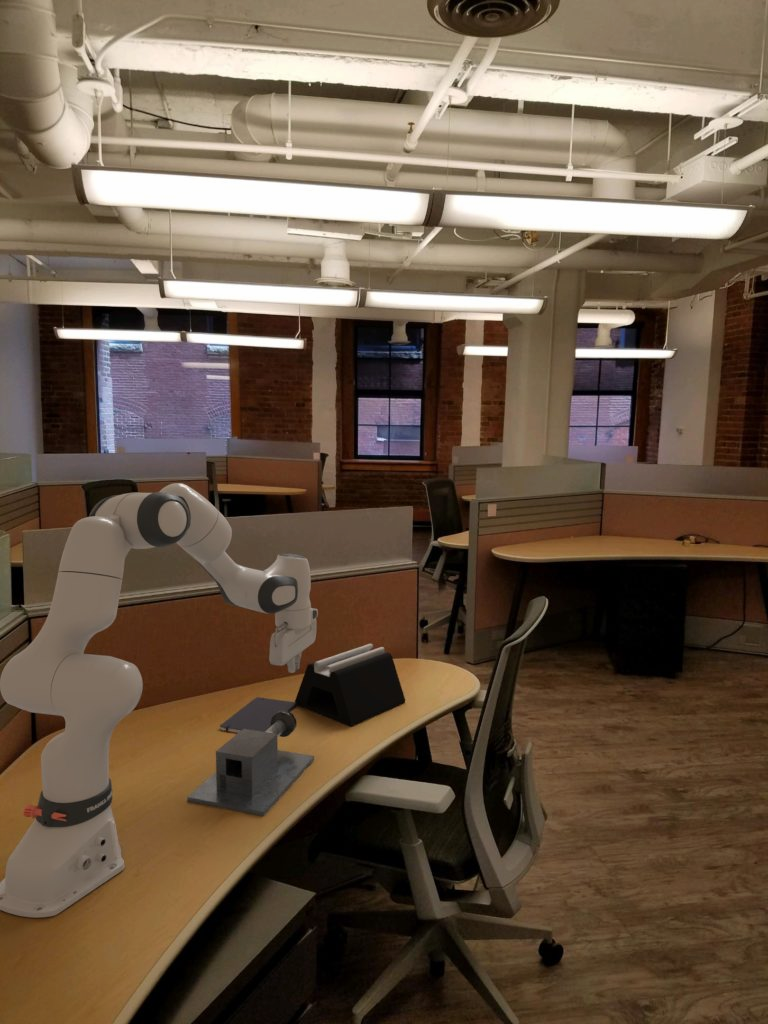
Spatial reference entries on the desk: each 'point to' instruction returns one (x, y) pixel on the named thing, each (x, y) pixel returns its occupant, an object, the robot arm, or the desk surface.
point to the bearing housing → (250, 774)
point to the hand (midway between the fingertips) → (293, 670)
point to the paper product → (256, 715)
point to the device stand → (351, 686)
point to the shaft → (282, 724)
